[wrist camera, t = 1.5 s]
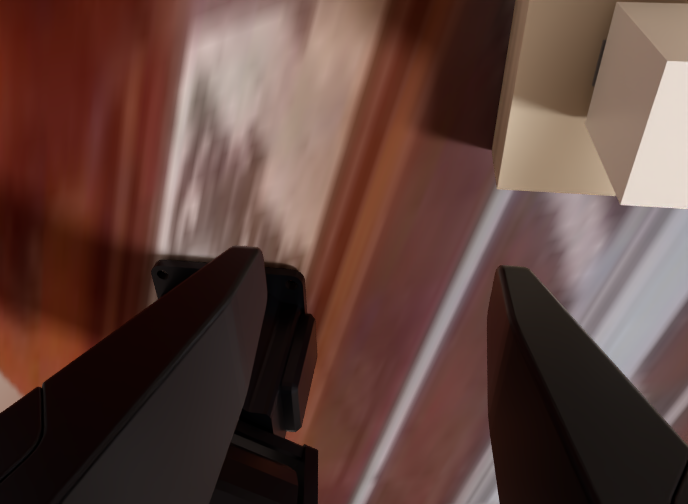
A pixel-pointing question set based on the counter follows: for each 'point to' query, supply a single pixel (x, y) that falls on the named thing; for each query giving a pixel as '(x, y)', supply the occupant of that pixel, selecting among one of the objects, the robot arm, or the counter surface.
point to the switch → (644, 105)
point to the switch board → (552, 97)
